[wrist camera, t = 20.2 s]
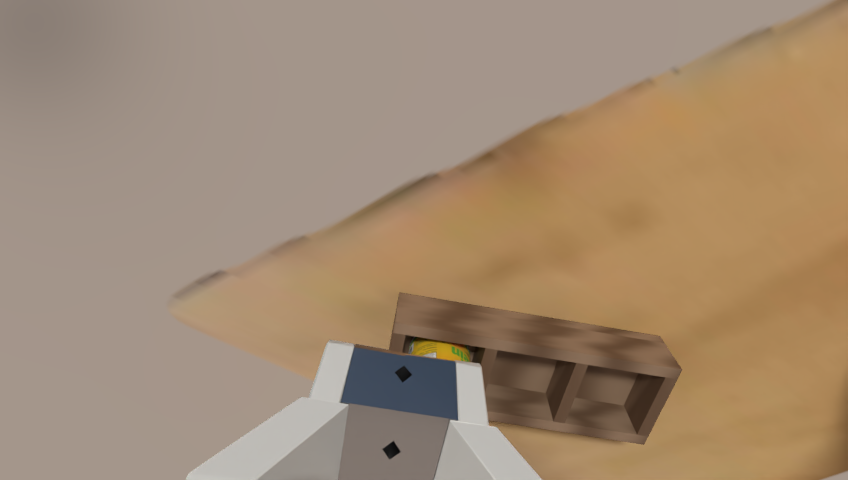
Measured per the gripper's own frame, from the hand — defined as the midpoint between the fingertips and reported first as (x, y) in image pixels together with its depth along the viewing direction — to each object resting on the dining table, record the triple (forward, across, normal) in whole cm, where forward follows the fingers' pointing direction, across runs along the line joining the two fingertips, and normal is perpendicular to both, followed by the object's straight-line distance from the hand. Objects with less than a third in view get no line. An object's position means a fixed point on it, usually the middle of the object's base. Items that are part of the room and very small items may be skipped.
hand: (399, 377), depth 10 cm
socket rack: (+29, -12, +20) cm, 37 cm away
